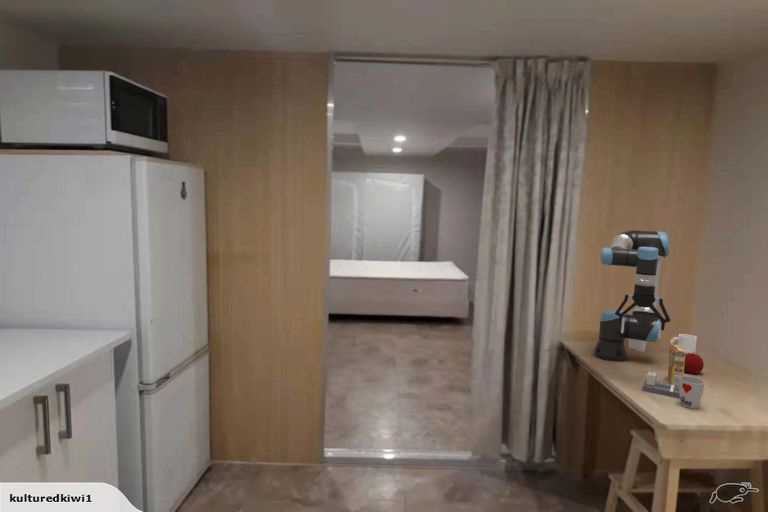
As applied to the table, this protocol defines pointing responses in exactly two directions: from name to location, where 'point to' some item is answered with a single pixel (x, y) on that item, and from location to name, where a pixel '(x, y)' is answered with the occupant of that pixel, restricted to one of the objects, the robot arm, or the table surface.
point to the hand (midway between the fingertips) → (640, 335)
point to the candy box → (676, 364)
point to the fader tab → (651, 378)
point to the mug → (686, 342)
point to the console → (662, 389)
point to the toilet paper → (637, 344)
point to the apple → (693, 363)
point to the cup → (690, 391)
